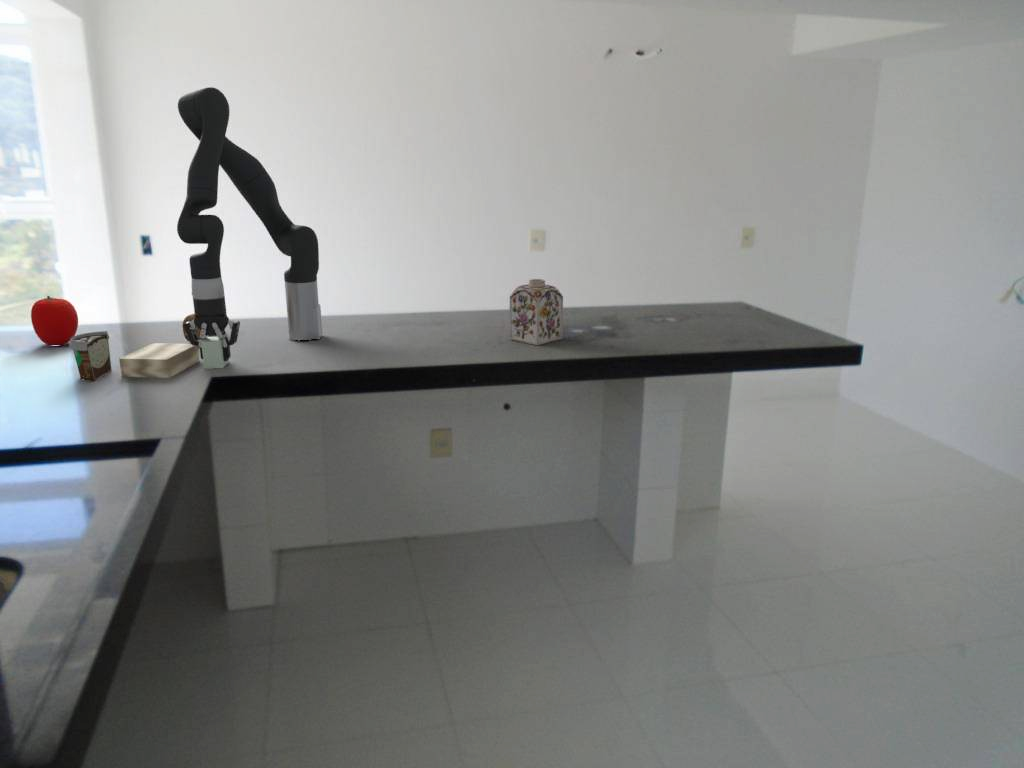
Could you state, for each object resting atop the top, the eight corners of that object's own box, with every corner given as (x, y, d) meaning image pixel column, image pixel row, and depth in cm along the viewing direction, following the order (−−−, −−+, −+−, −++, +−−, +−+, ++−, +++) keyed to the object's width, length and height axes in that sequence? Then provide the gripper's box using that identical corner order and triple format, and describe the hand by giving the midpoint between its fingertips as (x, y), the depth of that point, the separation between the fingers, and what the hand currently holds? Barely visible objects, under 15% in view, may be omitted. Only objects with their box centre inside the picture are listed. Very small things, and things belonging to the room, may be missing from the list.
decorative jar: (563, 339, 221) (564, 279, 216) (537, 346, 213) (538, 284, 208) (533, 333, 229) (534, 275, 224) (507, 339, 221) (508, 279, 215)
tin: (192, 345, 212) (188, 317, 210) (182, 345, 213) (178, 316, 210) (222, 334, 226) (219, 307, 224) (212, 333, 227) (209, 306, 224)
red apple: (30, 344, 213) (21, 295, 209) (73, 337, 221) (65, 290, 217) (44, 351, 205) (35, 301, 200) (88, 344, 212) (80, 296, 208)
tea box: (229, 362, 195) (226, 336, 193) (222, 368, 189) (219, 341, 187) (211, 362, 194) (208, 336, 192) (204, 368, 189) (201, 342, 187)
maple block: (199, 362, 196) (197, 343, 195) (169, 379, 181) (166, 359, 179) (156, 361, 197) (153, 343, 195) (122, 378, 182) (119, 358, 180)
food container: (89, 369, 188) (82, 331, 185) (114, 369, 188) (108, 330, 185) (65, 383, 176) (57, 342, 173) (92, 382, 176) (85, 342, 173)
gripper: (241, 292, 190) (248, 356, 195) (184, 293, 189) (192, 357, 194) (233, 297, 183) (240, 364, 188) (174, 298, 182) (182, 364, 187)
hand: (216, 360), depth 191 cm, fingers closed on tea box, 4 cm apart
